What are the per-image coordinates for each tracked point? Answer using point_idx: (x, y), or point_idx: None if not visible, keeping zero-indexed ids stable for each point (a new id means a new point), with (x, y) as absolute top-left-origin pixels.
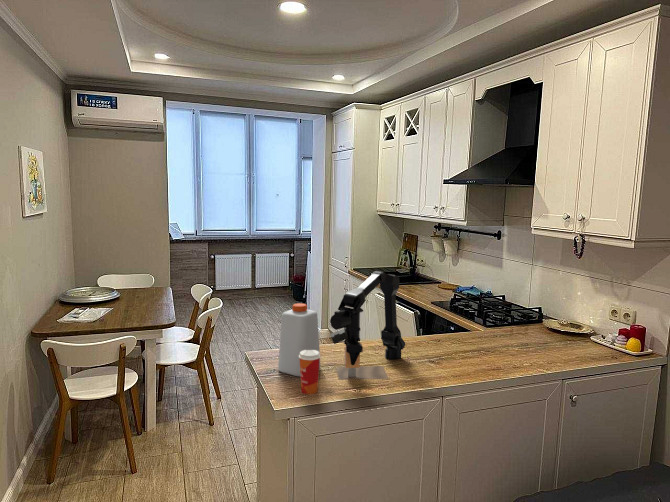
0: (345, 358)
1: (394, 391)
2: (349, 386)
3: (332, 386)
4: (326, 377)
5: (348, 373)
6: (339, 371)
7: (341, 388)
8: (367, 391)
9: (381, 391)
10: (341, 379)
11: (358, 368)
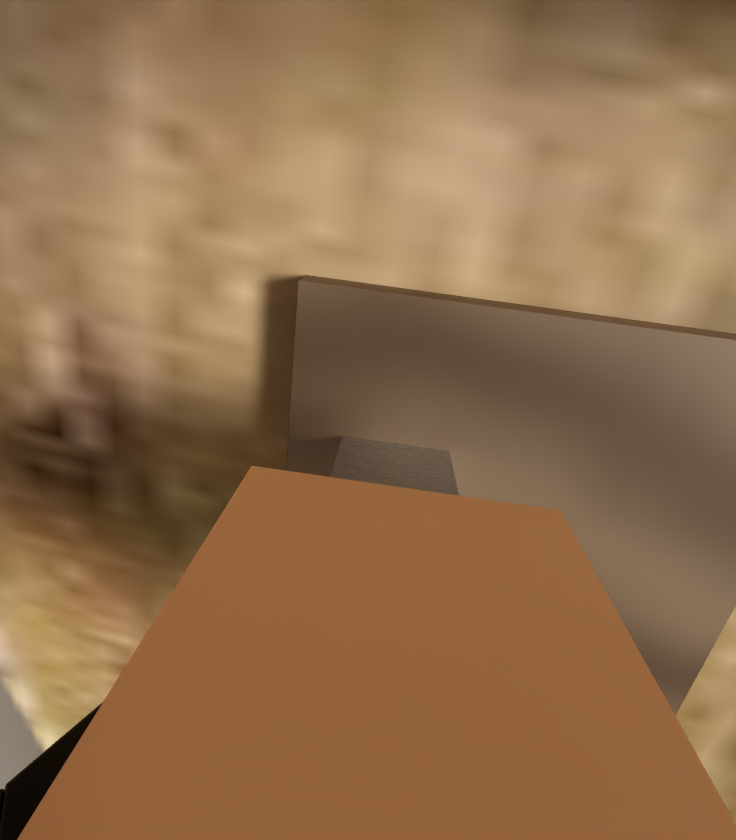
0: (227, 630)
1: (63, 730)
2: (166, 393)
3: (164, 148)
4: (544, 106)
5: (334, 468)
6: (621, 366)
7: (98, 275)
8: (38, 541)
9: (52, 649)
10: (295, 327)
11: (634, 628)
